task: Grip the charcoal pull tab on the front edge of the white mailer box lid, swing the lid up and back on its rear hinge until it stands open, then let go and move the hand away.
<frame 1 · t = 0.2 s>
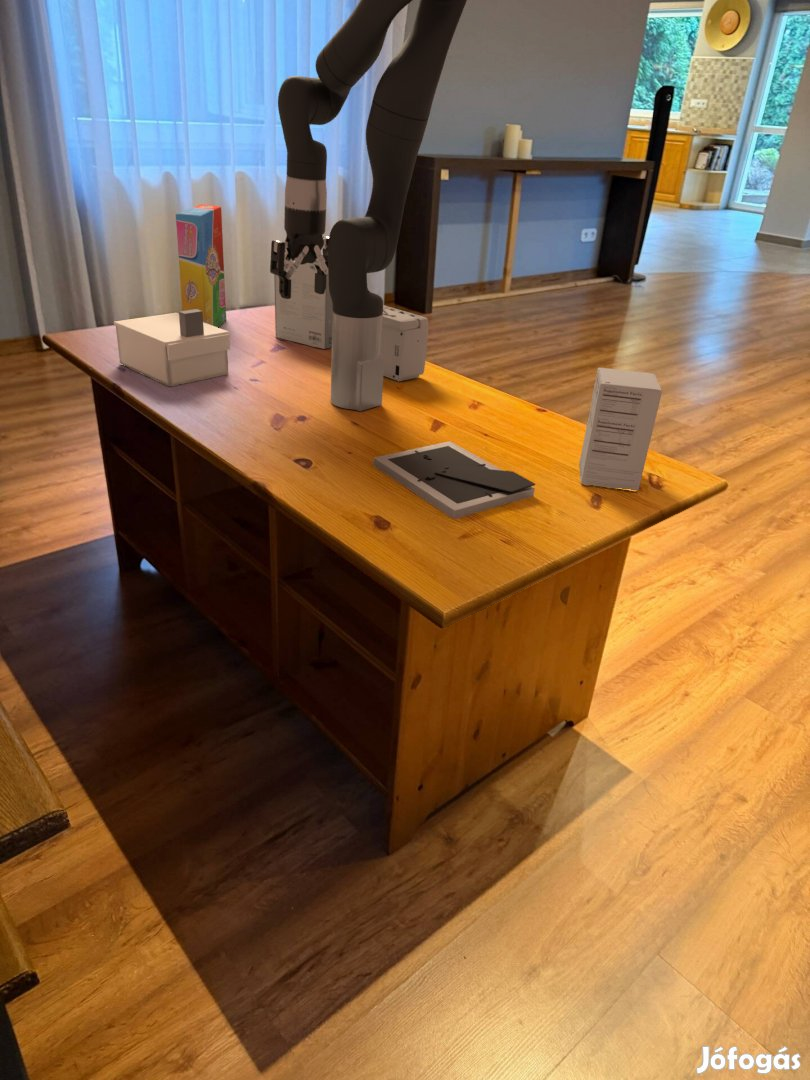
hand: (302, 295, 147), 18 cm above the table, tool pointing down, fingers open, 8 cm apart
mailer box: (174, 369, 158), on the table
picture frame: (450, 485, 120), on the table
stereo radio cassette player: (378, 370, 168), on the table
supplement box: (607, 478, 125), on the table
hard drive box: (309, 341, 184), on the table
game box: (206, 329, 187), on the table
mailer lid: (171, 324, 153), point 9 cm above the table, hinge at 0.0°
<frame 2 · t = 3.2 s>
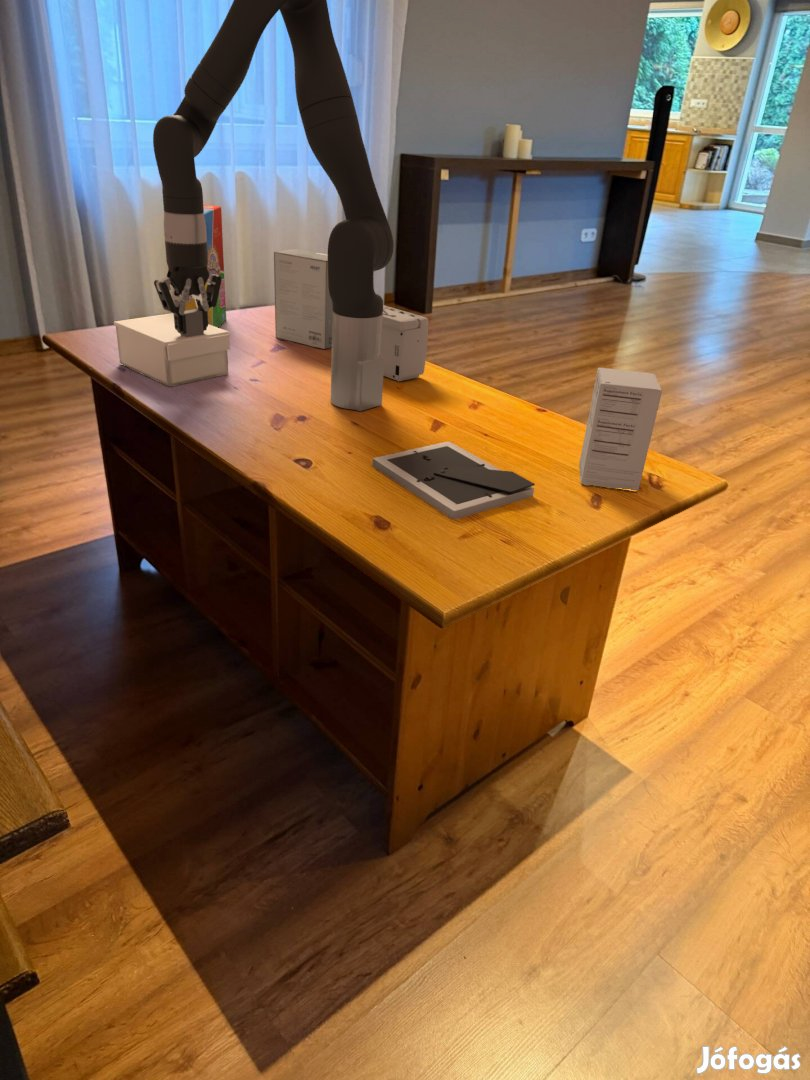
hand: (192, 331, 149), 10 cm above the table, tool pointing down, fingers closed on mailer lid, 4 cm apart
mailer lid: (171, 324, 153), point 9 cm above the table, hinge at 0.0°, touching gripper
everything else where it was.
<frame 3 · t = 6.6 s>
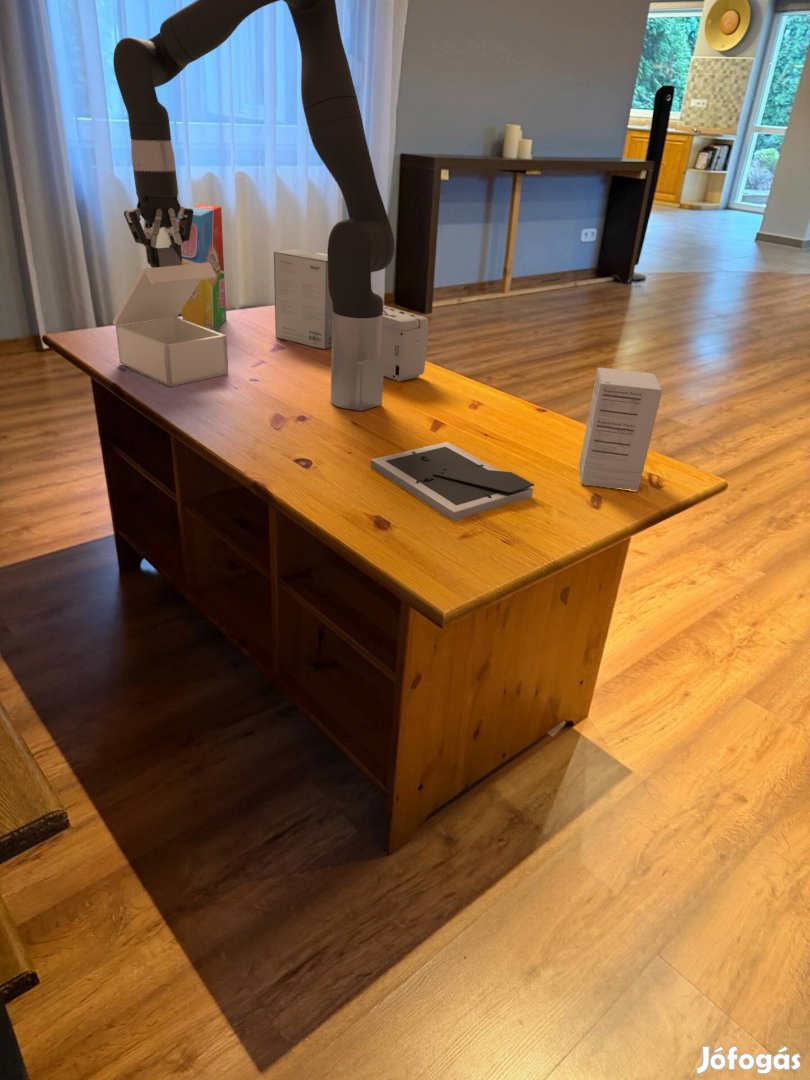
hand: (165, 265, 148), 21 cm above the table, tool pointing down, fingers closed on mailer lid, 4 cm apart
mailer lid: (159, 289, 152), point 16 cm above the table, hinge at 43.3°, touching gripper
everything else where it was.
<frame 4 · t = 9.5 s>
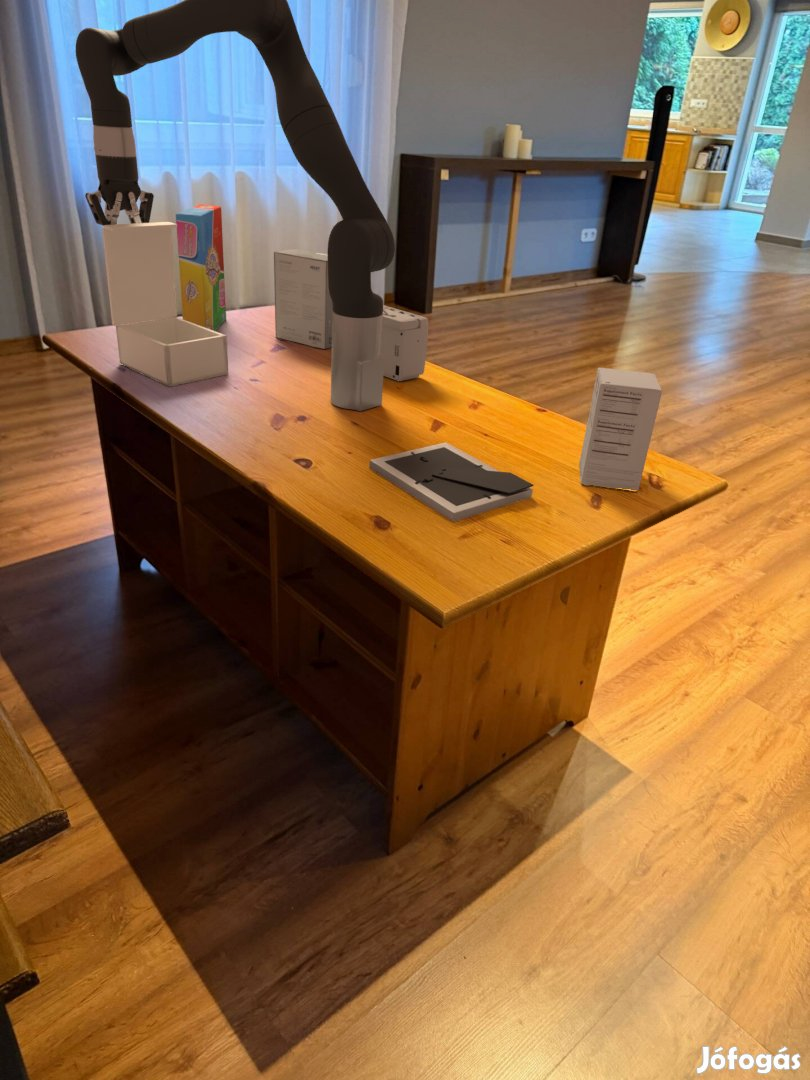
hand: (125, 246, 155), 22 cm above the table, tool pointing down, fingers open, 4 cm apart
mailer lid: (139, 272, 155), point 18 cm above the table, hinge at 88.5°
everything else where it was.
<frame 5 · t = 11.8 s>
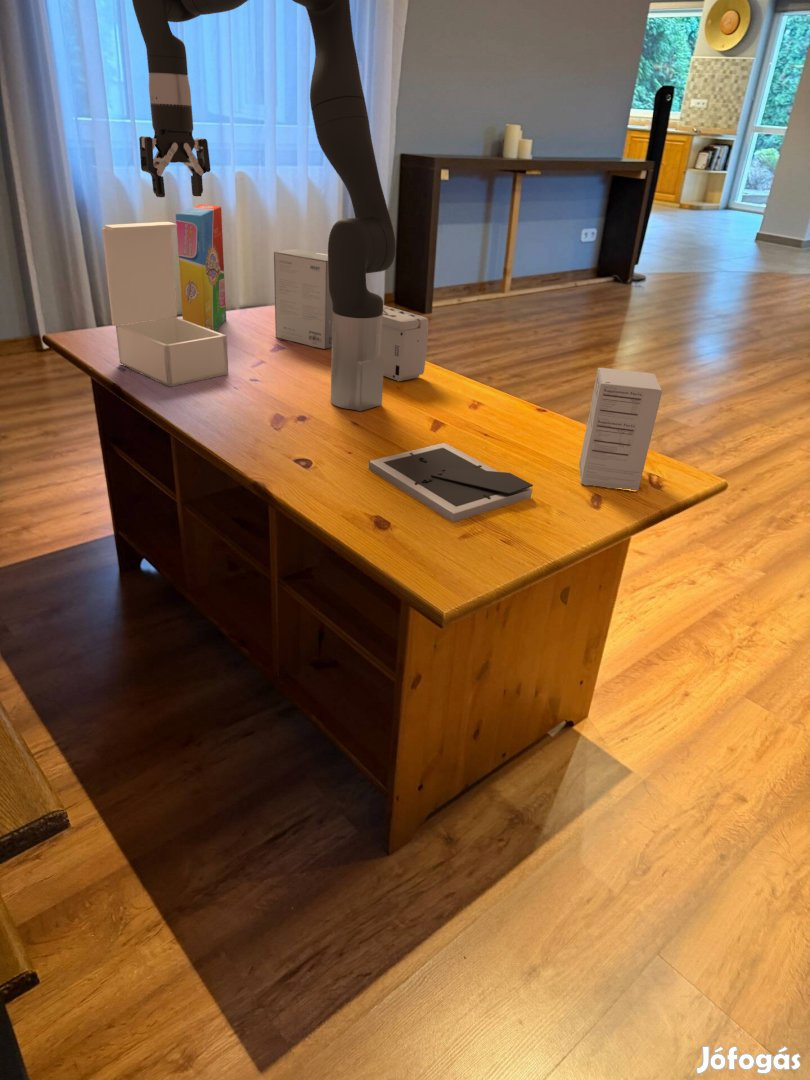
hand: (179, 196, 151), 32 cm above the table, tool pointing down, fingers open, 8 cm apart
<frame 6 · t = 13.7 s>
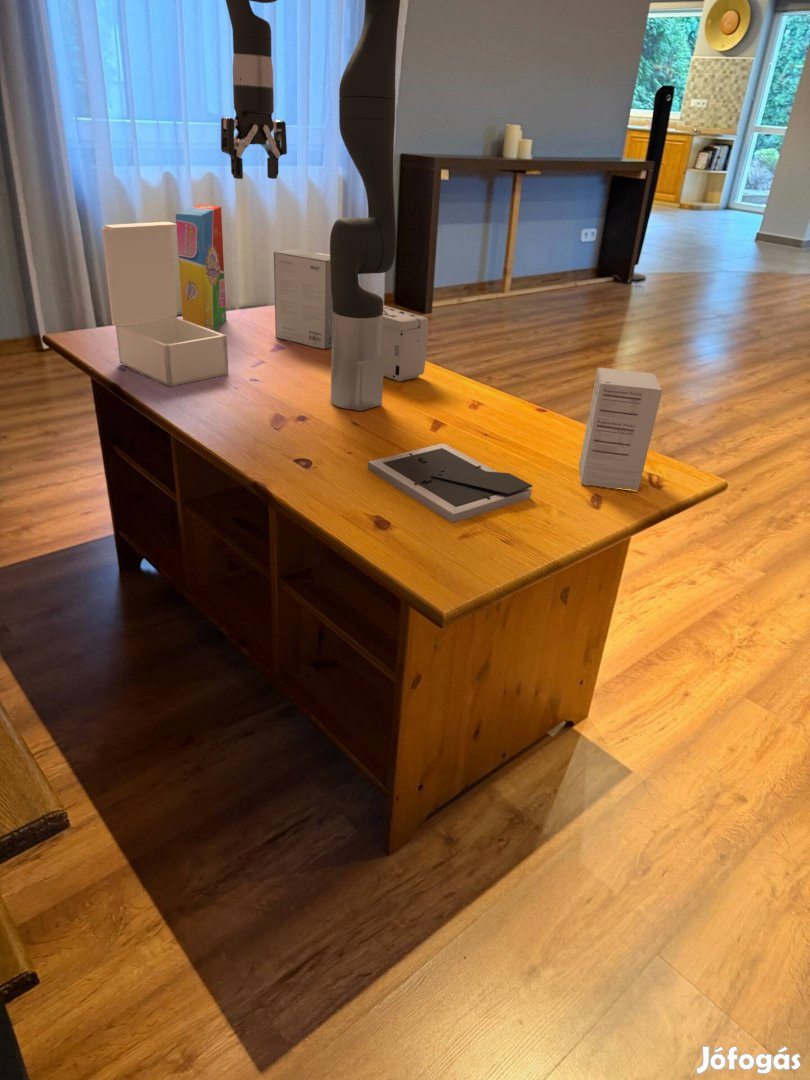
hand: (255, 178, 152), 36 cm above the table, tool pointing down, fingers open, 8 cm apart
at the end: mailer lid at +89° (first picture: +0°); the gripper is holding nothing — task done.
